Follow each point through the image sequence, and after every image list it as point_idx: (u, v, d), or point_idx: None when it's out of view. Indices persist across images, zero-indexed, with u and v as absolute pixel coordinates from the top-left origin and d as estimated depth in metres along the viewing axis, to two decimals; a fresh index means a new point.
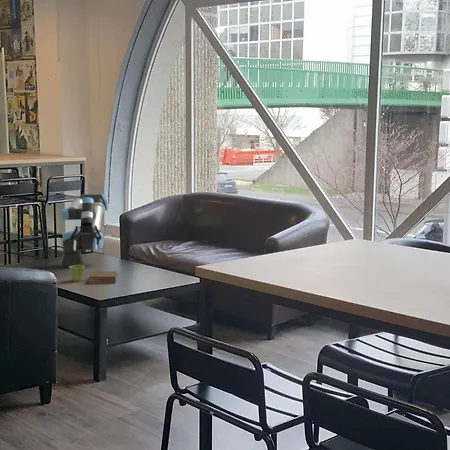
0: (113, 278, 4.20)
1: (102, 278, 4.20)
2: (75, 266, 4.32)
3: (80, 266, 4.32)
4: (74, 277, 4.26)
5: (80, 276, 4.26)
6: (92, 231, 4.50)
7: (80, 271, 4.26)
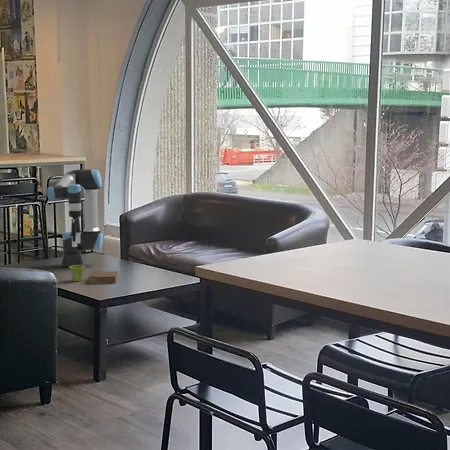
0: (113, 278, 4.20)
1: (102, 278, 4.20)
2: (75, 266, 4.32)
3: (80, 266, 4.32)
4: (74, 277, 4.26)
5: (80, 276, 4.26)
6: None
7: (80, 271, 4.26)
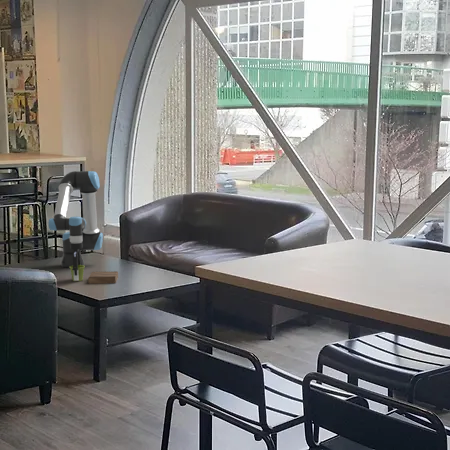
0: (113, 278, 4.20)
1: (102, 278, 4.20)
2: None
3: (80, 266, 4.32)
4: None
5: (80, 276, 4.26)
6: None
7: (80, 271, 4.26)
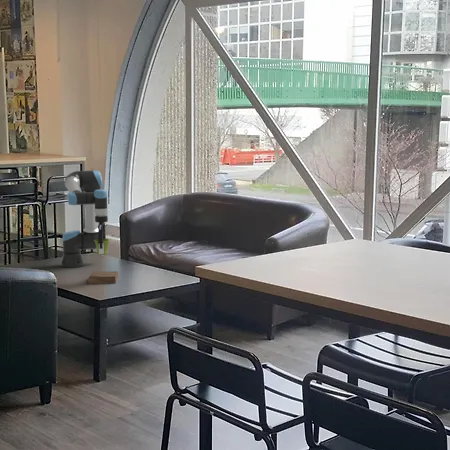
0: (113, 278, 4.20)
1: (102, 278, 4.20)
2: None
3: (105, 240, 4.29)
4: None
5: (105, 249, 4.23)
6: None
7: (105, 244, 4.22)
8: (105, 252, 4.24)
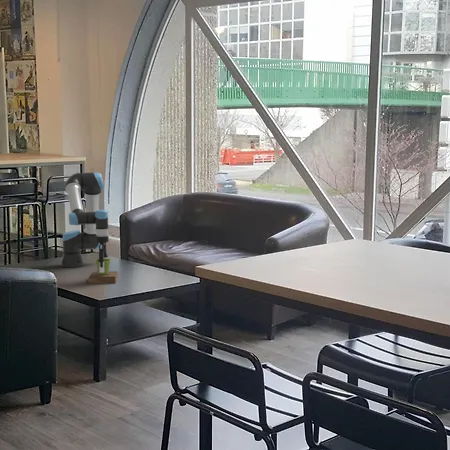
0: (113, 278, 4.20)
1: (102, 278, 4.20)
2: None
3: (106, 260, 4.31)
4: None
5: (106, 269, 4.25)
6: None
7: (106, 265, 4.24)
8: (106, 272, 4.25)
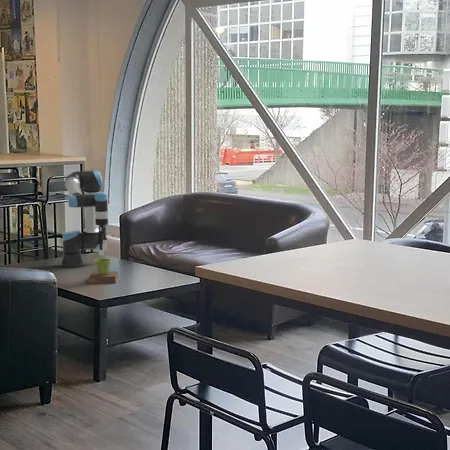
0: (113, 278, 4.20)
1: (102, 278, 4.20)
2: (101, 260, 4.30)
3: (106, 260, 4.31)
4: (100, 271, 4.24)
5: (106, 269, 4.25)
6: None
7: (106, 265, 4.24)
8: (106, 272, 4.25)
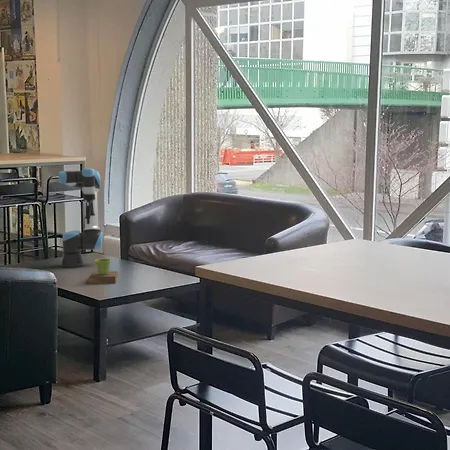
0: (113, 278, 4.20)
1: (102, 278, 4.20)
2: (101, 260, 4.30)
3: (106, 260, 4.31)
4: (100, 271, 4.24)
5: (106, 269, 4.25)
6: None
7: (106, 265, 4.24)
8: (106, 272, 4.25)
